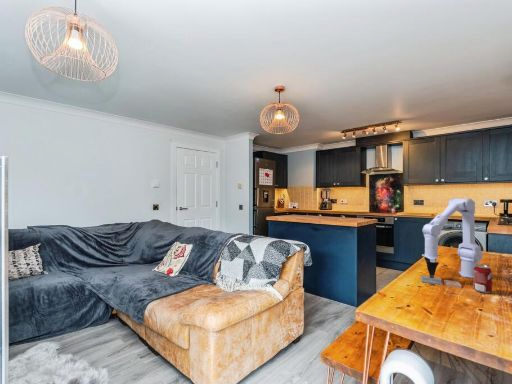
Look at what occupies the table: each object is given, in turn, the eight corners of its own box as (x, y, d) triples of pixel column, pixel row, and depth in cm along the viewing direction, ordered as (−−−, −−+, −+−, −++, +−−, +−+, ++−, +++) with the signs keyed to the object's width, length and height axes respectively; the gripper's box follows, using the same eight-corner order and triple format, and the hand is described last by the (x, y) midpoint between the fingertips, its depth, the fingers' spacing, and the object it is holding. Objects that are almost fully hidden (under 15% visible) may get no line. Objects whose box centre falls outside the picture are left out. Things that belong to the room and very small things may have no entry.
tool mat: (420, 277, 149) (420, 276, 149) (440, 279, 145) (440, 278, 145) (421, 282, 141) (421, 281, 141) (442, 285, 137) (442, 284, 137)
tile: (444, 279, 141) (446, 283, 135) (458, 281, 139) (461, 285, 133) (444, 283, 141) (446, 287, 135) (458, 284, 139) (461, 289, 133)
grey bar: (422, 277, 146) (422, 264, 146) (440, 280, 143) (440, 266, 143) (422, 279, 144) (423, 266, 144) (441, 281, 140) (441, 268, 140)
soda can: (484, 294, 125) (485, 268, 124) (469, 289, 131) (470, 264, 131) (495, 293, 126) (495, 267, 126) (480, 288, 133) (480, 263, 133)
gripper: (421, 244, 151) (421, 268, 152) (423, 249, 139) (423, 275, 139) (436, 245, 148) (436, 270, 148) (440, 250, 135) (439, 277, 135)
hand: (431, 272), depth 143 cm, fingers open, 7 cm apart
